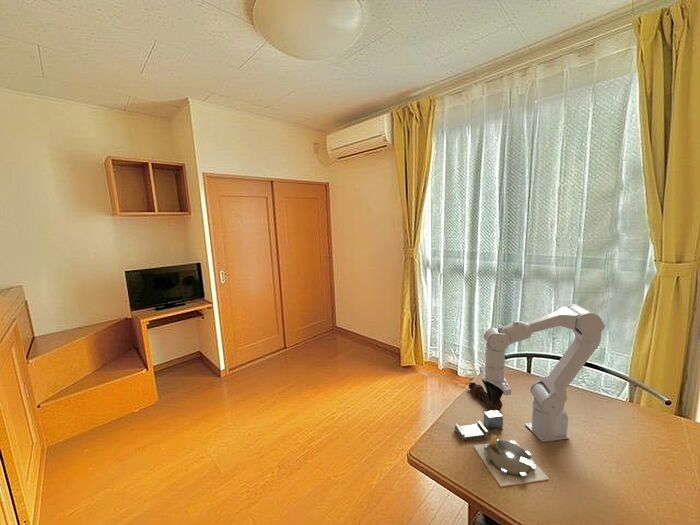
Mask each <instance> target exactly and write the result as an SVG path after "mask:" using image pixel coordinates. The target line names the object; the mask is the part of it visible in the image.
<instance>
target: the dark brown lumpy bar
mask: <svg viewBox="0 0 700 525" xmlns="http://www.w3.org/2000/svg"><path fill="white" fill-rule="evenodd" d="M468 386H469V387H468V388H469V389H470V390H471V392H472V394H473V396H475V397H476V398H480V399H481V400H482V401H483V402H484V403H485V404H486V407H487V408H488V411H495V410H498V411H499V412H500V411H501V410H502V408H503V402H502V400H501V399H500V401H499V404H494V405H493V404H492V402H491V401H489V399H488V395H487V391H486V389H485V388H484V387H483V386H482V385H481V384H477V383H475V382H469V383H468Z"/></svg>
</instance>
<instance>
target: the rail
mask: <svg viewBox="0 0 700 525" xmlns="http://www.w3.org/2000/svg"><path fill="white" fill-rule="evenodd" d="M454 432H455V433H456V435H457V436H458V438H459V439H460V441H461V442H470V441H475V440H476V441H478V440H484V439H488V438H489V431H488V430H487V428H486V427H485V426H484V423H482V422H481V421H480V420H478V421H477V423H472V424H471V423H470V424H464V425H459V424H458V423H454Z"/></svg>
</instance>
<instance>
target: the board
mask: <svg viewBox="0 0 700 525" xmlns="http://www.w3.org/2000/svg"><path fill="white" fill-rule="evenodd" d="M507 441H508V442H510V441H513V442H516V445H518V446H519V447H521V445H520V444H519V443H518V442H517V440H515V439H511V440H507ZM490 443H491V442H490ZM490 443H482V444H475V445H473V449H474V450H475V451H476V453H477V454H478V456H479V457H480V458H481V460H482V462H483V463H484V464H485V466H486V467H487V469H488V470H489V472H490V474H491V475H492V476H493V478H494V479H495V481H496V482H497V484H498V485H499V486H500V488H504V487H510V486H517V485H522V484H531V483H537V482H538V483H539V482H545V481H549V480H550V478H549V476H547V474H546V473H545V472H544V471H543V470H542V469H541V467H539V465H538V464H536V462H535V461H534V460H533V458H532V457H531V458H530V460H531V461H532V464H534V465H535V472H532V471H530V472H529V473H528V474H527V477H526V479H521V478H520V477H518V476H511V475H508V474H507V475H506V476H505V475H503V474H501V471H500V470H498V469H497V468H496V467H495V466H494V465H493V464H492V463H491V464H488V462H487V461H486V456H488V452H487V451H485V450H484V446H485V444H487V445H489V444H490Z"/></svg>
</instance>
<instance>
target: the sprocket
mask: <svg viewBox="0 0 700 525" xmlns="http://www.w3.org/2000/svg"><path fill="white" fill-rule="evenodd" d="M498 437H499V436H498V435H497V434H495V433H492V434H491V435H490V444H489V445H487V444H488V443H484V444H485V446H484V450H485V451H487V452H488V456H486V461H487V462H488V464H491V463H492V464H493V465H494V466H495V467H496V468H497V469H498V470H500V471H501V474H503V475H505V476H506V475H507V474H508V475H511V476H518V477H520V478H521V479H526V477H527V474H528V473H529V472H530V471H532V472H535V465H534V464H532V461H531V460H530V458H531V459H532V454H531V452H530V451H529V450H524V449H523V447H522V446H520V447H519V446H518V445H516V442H517V441H516V442H513V441H511V440H502V439H500V440H499V438H498ZM508 441H510V442H508Z"/></svg>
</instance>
